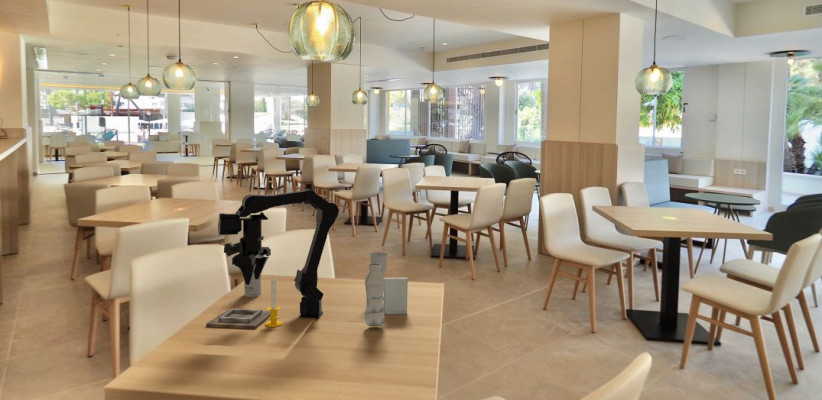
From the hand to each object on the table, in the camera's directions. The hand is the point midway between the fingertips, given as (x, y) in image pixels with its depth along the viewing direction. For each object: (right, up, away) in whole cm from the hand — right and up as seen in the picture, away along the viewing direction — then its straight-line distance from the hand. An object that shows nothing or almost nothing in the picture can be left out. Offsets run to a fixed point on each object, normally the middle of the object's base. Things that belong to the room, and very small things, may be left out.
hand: (252, 281), depth 175 cm
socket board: (-4, -13, +3) cm, 14 cm away
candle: (+7, -14, -1) cm, 15 cm away
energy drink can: (-9, -11, +31) cm, 34 cm away
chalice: (+39, -12, +28) cm, 49 cm away
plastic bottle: (+39, -14, -1) cm, 42 cm away
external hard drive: (+46, -13, +13) cm, 49 cm away
